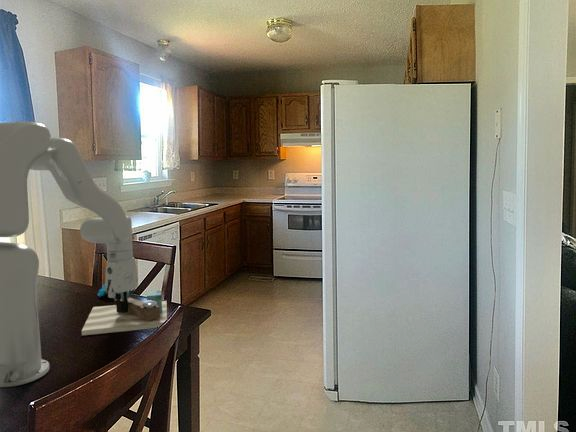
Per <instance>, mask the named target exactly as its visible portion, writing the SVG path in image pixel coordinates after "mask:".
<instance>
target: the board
mask: <svg viewBox="0 0 576 432" xmlns="http://www.w3.org/2000/svg"><path fill="white" fill-rule="evenodd" d="M156 305H157V304H156ZM167 306H168V305H167V300H162V313H160V317H159V318H156V319H153V320H150V321H147V320H144V319H141V318H140V317H139V316H137V315H134V314H131V313H129V312H126V313H118V312H117V309H116V304H113V305H103V306H102V305H101V306H93V307H92V309H91V311H90V313H89V314H88V317H87V319H86V321H85V323H84V324H83V327H82V329H81V336H89V335H90V336H91V335H100V334H109V333H119V332H121V333H122V332H129V331H140V330H148V329H150V330H151V329H157V327H159V326H160V325H161V324H162V323H164V322H165V321H166V320H167V321H168V307H167Z"/></svg>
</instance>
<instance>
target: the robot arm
mask: <svg viewBox="0 0 576 432" xmlns="http://www.w3.org/2000/svg"><path fill="white" fill-rule="evenodd" d="M30 170H33V171H49V172H50V173H51V175H52V177H53V178H54V181H55V182H56V184H57V185H58V187H59V189H60V191H61V193H62V194H63V196H64V198H65V199H66V200H68V201H69V202H71V203H73V204H76V205H77V206H79V207H82V208H85V209H87V210H89V211H91V212H93V213H95V214H96V215H97V216H99V217H90V218H87V219H86V220H84V221H83V222H82V223H81V225H80V229H79V234H80V236H81V238H82V239H83V240H85V241H86V242H88V243H93V244H106V258H107V259H106V260H107V261H106V264H105V277H104V278H105V279H104V280H105V283H104V284H105V285H106V291H107V292H109V293H107V298H109V299H114V302H115V303H116V304H115V305H116V309H117V312H118V313H126V312H128V300H127V299H129V297H130V294H131V292H132V291H134V290H135V288H137V287H138V285H139V280H138V279H139V278H138V271H137V270H138V269H137V268H138V267H137V264H136V260H135V257H134V253H133V248H134V247H133V228H132V227H133V225H132V219H131V217H130V216H129V215H126V213H125V210H124V209H123V207H122V206H121V205H120V203H119V202H118V201H117V200H116V199H115V198H113V197H112V196H111V195H110V194H109V193H108V192H106V191H105V190H104V189H102V188H101V187H100V186H98V185H97V184H96V183H95V181H94V179H93V177H92V175H91V173H90V171H89V169H88V167H87V165H86V163H85V161H84V159H83V157H82V155H81V153H80V151H79V149H78V147H77V145H76V144H75V143H74V141H72V140H70V139H67V138H62V137H52V136H51V132H50V130H49V128H48V126H45V125H44V124H42V123H40V122H37V121H36V122H35V121H12V122H0V238H15V237H18V236H21V235H23V234H24V233H25V232H26V231H27V229H28V227H29V224H30V223H29V222H30V214H29V213H30V210H29V208H30V207H29V194H28V193H29V191H28V176H29V172H30ZM39 268H40V260H39V257H38V254H37V252H35V250H34V249H33V248H32V247H30V246H28V245H27V244H26V245H25V244H23V243H17V242H3V241H2V242H1V241H0V388H11V387H17V386H22V385H25V384H28V383H31V382H34V381H36V380H39V379H40V378H42V377H43V376H45V375H46V374H47V373H48V372H49V370H50V362H49V361H48V360H46V359H43V358H42V349H41V337H40V336H41V335H40V321H39V309H38V298H37V297H38V295H37V288H38V287H37V286H38V285H37V283H38V276H39Z"/></svg>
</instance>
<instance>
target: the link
mask: <svg viewBox="0 0 576 432" xmlns="http://www.w3.org/2000/svg"><path fill="white" fill-rule="evenodd" d="M127 300H128V312H129V313H131V314H134V315H137V316H139V317H140V318H141V319H144V320H147V321H150V320H153V319H156V318H159V317H160V306H157V305H156V306H154V307H153V308H150V309H147V308H146V307H143V303H145V302H146V301H141V300H139V299H135V298H132V297H130V296H129V299H127Z"/></svg>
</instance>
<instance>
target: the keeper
mask: <svg viewBox="0 0 576 432" xmlns="http://www.w3.org/2000/svg"><path fill="white" fill-rule="evenodd" d="M146 292H147V293H146V301H153V300H154V301H155V302H156V304H157V306H160V313H162V301H163V298H162V295H163V294H162V290H154V291H152V290H151V291H146Z"/></svg>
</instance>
